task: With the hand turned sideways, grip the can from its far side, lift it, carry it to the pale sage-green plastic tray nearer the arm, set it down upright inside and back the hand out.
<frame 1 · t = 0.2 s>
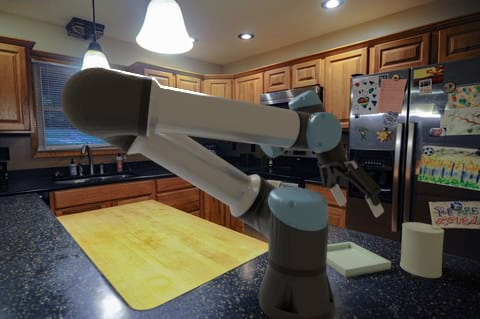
hand: (359, 208, 73), 15 cm above the countertop, tool tilted 35°, fingers open, 13 cm apart
tray: (347, 260, 73), on the countertop
can: (420, 270, 69), on the countertop
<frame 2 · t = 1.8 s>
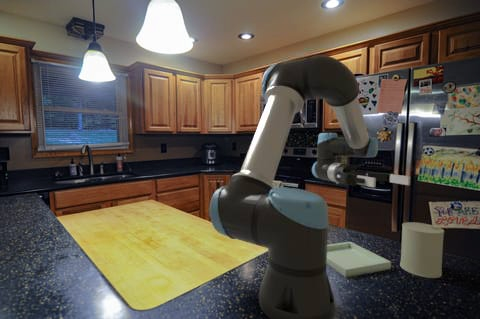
hand: (392, 181, 76), 22 cm above the countertop, tool horizontal, fingers open, 13 cm apart
nothing on the countertop moved.
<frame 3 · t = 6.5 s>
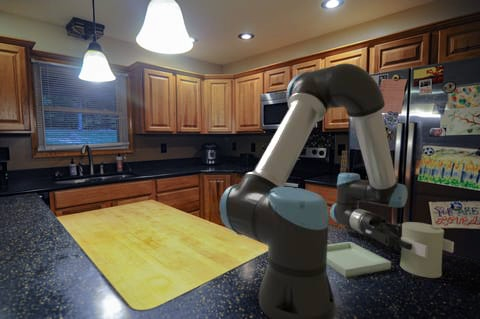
hand: (439, 249, 64), 7 cm above the countertop, tool horizontal, fingers closed on can, 9 cm apart
can: (419, 270, 69), on the countertop, touching gripper
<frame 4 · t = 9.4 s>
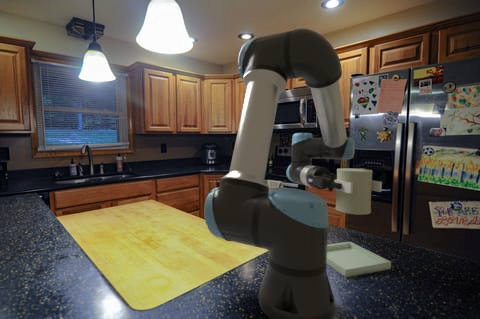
hand: (366, 187, 67), 22 cm above the countertop, tool horizontal, fingers closed on can, 9 cm apart
can: (352, 211, 72), point 14 cm above the countertop, touching gripper
when the fingers open (9 cm above the countertop, at t = 12.4 s): can drops 1 cm, resting on tray.
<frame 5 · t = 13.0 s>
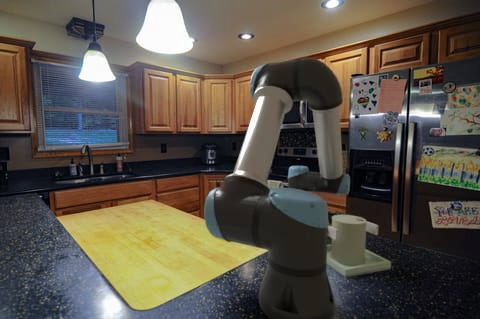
hand: (357, 232, 70), 9 cm above the countertop, tool horizontal, fingers open, 13 cm apart
can: (347, 259, 73), resting on tray
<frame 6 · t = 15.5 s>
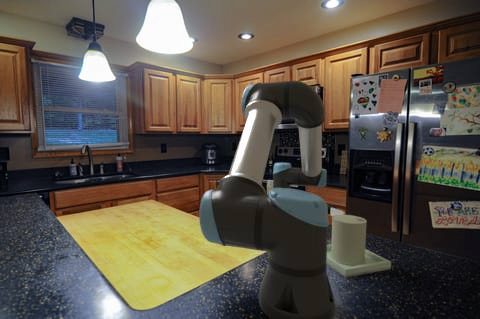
hand: (327, 217, 82), 10 cm above the countertop, tool horizontal, fingers open, 13 cm apart
nothing on the countertop moved.
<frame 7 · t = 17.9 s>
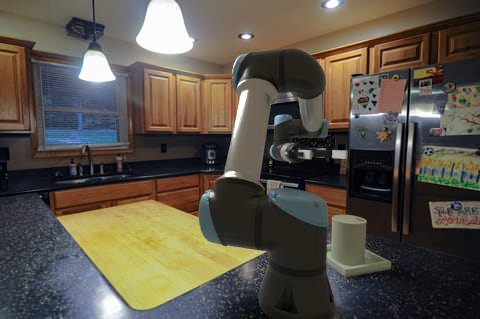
hand: (329, 154, 81), 30 cm above the countertop, tool horizontal, fingers open, 13 cm apart
nothing on the countertop moved.
at the end: can inside the target area on the tray (0.1 cm from its centre), point 0.4 cm above the tray's base; can tilted 0°; the gripper is holding nothing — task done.
